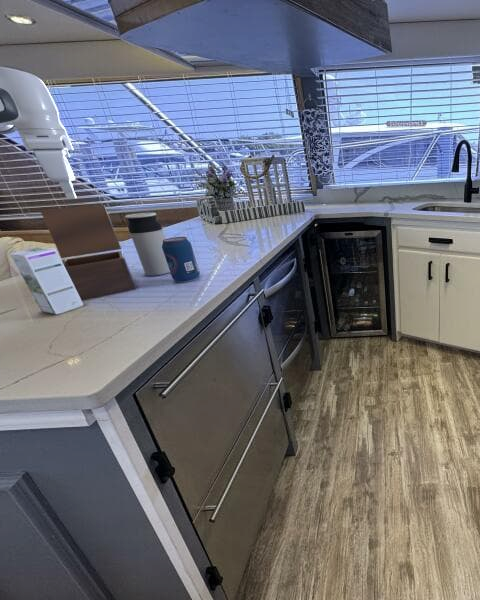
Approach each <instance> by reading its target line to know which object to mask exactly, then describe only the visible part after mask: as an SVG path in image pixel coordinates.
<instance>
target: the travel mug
mask: <svg viewBox="0 0 480 600" xmlns="http://www.w3.org/2000/svg"><path fill="white" fill-rule="evenodd" d="M124 218H125V219H126V220H127V221H128V226H127V229H128V233H129V234H130V237H131V239H132V242H133V245H134V247H135V248H134V249H135V250H136V253H137V255H138V258H139V262H140V263H141V266H142V270H143V272H144V275H145V276H150V277H156V276H163V275H166V274H171V273H170V270H169V267H168V264H167V261H166V258H165V255H164V252H163V249H162V244H163V240H164V239H166V236H165V233H164V230H163V227H162V224H161V223H160V222H159V220H158V219H157V213H156V212H141V213H131V214H127V215H124Z"/></svg>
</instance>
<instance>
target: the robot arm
mask: <svg viewBox="0 0 480 600" xmlns="http://www.w3.org/2000/svg"><path fill="white" fill-rule="evenodd" d="M59 115H60V114H59V110H58V107H57V105H56V103H55V101H54V99H53V97H52V95H51V93H50V91H49V89H48V87H47V86H46V84H45V83H44V81H43V80H42V79H40V77H38V76H37V75H35V74H34V73H32V72H30V71H27V70H24V69H21V68H18V67H14V66H10V65H9V66H8V65H0V135H9V134H13V133H15V132H17V133H18V135H19V137H20V139H21V141H22V143H23V146H24V148H25V150H26V151H27V152H33V155H34V156H35V158H36V159H37V161H38V163H39V165H40V166H41V168H42V170H43V172H44V173H45V175H46V176H47V178H48V179H49V181H51V182H52V183H58V184H59V186H60V189H61V190H62V191H63V193H64V195H65V197H66V200H67V199H68V200H75V199H77V195H76V193H75V190H74V186H73V183H72V181H75V180H76V177H75V175H74V172H73V170H72V167H71V165H70V163H69V161H68V158H71V155H70V152H71V151H74V147H73V144H72V142H71V140H70V137H69V135H68V133H67V130H66V128H65V126H64V125H63V123H62V122H61V120H60V116H59Z"/></svg>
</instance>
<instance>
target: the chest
mask: <svg viewBox="0 0 480 600" xmlns="http://www.w3.org/2000/svg"><path fill="white" fill-rule="evenodd" d="M61 261H62V263H63V264H64V266H65V268H66V270H67V272H68V274H69V276H70V278H71V280H72V282H73V284H74V286H75V288H76V290H77V292H78V294H79V296H80V298H81V301H85V300H90V299H95V298H100V297H103V296H104V297H105V296H110V295H114V294H119V293H124V292H127V291H132V290H136V284H135V280H134V277H133V275H132V272H131V270H130V267H129V265H128V262H127V259H126V257H125V255H124V252H123V250H116V251H109V252H103V253H96V254H90V255H83V256H77V257H70V258H64V259H61Z"/></svg>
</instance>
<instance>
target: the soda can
mask: <svg viewBox="0 0 480 600" xmlns="http://www.w3.org/2000/svg"><path fill="white" fill-rule="evenodd" d="M162 249H163V252H164V255H165V258H166V261H167V264H168V267H169V270H170V273H169V274H170V275H171V278H172V279H173V280H174V281H175V282H176V283H178V284H179V283H189V282H193V281H196V280H198V279H199V278H200V274H201V271H200V269H199V266H198V262H197V259H196V255H195V252H194V250H193V245H192V243H191V242H190V240H189V239H188V238H187V236H176V237H175V236H174V237H169V238H165V239H164V240H163V244H162Z"/></svg>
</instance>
